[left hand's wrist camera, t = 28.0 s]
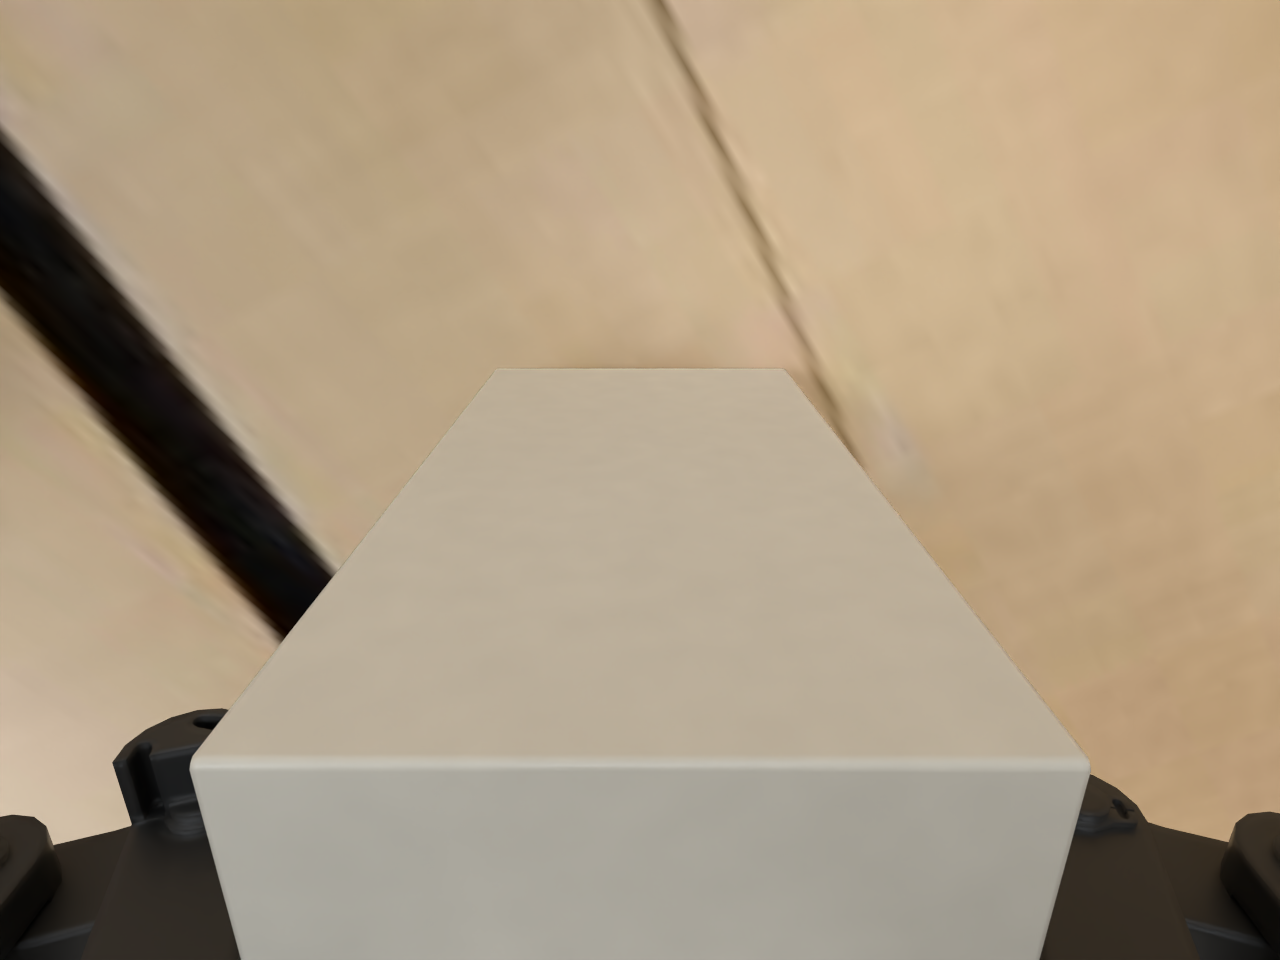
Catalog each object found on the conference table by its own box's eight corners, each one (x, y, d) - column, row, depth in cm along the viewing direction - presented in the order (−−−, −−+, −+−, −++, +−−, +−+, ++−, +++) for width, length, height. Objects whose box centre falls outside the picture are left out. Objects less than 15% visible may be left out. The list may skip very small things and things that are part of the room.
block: (514, 647, 19) (333, 1314, 8) (495, 367, 16) (181, 762, 5) (766, 647, 19) (946, 1315, 8) (785, 367, 16) (1100, 762, 5)
